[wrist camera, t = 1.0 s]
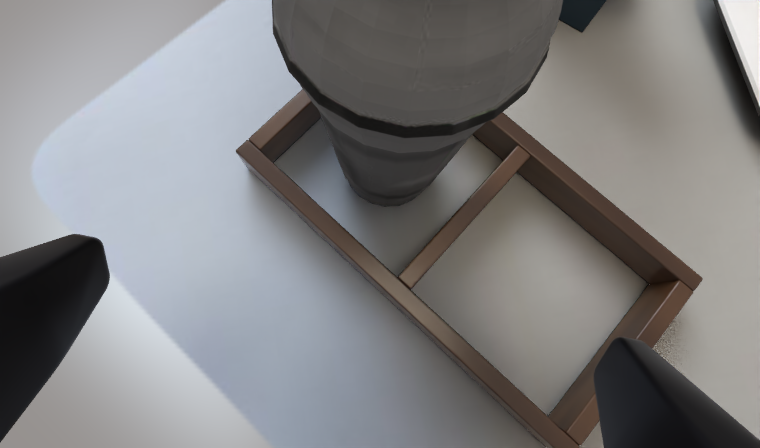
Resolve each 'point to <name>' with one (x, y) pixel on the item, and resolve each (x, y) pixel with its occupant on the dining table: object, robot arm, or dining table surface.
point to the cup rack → (520, 155)
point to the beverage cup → (410, 78)
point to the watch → (579, 12)
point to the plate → (744, 39)
